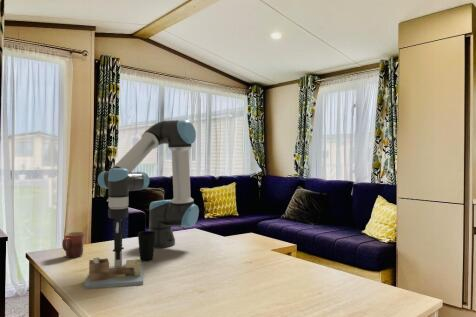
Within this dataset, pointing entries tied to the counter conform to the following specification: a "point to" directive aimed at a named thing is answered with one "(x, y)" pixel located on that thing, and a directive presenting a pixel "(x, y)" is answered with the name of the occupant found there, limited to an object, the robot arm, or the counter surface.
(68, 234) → the mug
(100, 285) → the board
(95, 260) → the cylinder
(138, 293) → the counter surface
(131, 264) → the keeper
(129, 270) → the link
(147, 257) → the cup
